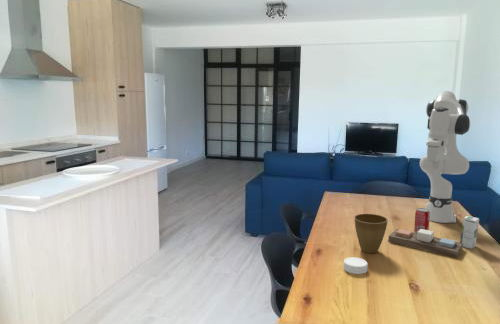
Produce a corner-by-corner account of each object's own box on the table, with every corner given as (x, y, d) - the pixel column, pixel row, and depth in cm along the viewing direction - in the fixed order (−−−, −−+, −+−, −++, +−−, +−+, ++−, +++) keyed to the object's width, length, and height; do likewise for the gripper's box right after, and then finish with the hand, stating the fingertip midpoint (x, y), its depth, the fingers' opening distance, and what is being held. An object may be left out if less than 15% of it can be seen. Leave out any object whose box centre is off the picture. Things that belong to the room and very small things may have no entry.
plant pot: (385, 246, 184) (387, 215, 181) (385, 258, 170) (387, 224, 168) (353, 242, 189) (355, 211, 186) (351, 254, 175) (353, 221, 172)
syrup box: (463, 242, 190) (466, 215, 187) (476, 246, 185) (479, 218, 183) (459, 246, 186) (462, 217, 183) (472, 249, 181) (476, 220, 179)
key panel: (396, 234, 201) (396, 229, 200) (462, 249, 182) (462, 243, 181) (388, 241, 191) (388, 235, 190) (456, 257, 172) (457, 251, 171)
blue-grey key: (441, 245, 184) (442, 237, 183) (455, 248, 180) (455, 240, 180) (438, 249, 179) (439, 241, 179) (452, 252, 176) (453, 244, 175)
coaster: (363, 277, 153) (364, 268, 153) (339, 271, 158) (340, 263, 158) (370, 267, 162) (370, 260, 161) (347, 262, 167) (347, 254, 166)
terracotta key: (399, 236, 196) (399, 228, 196) (411, 238, 193) (411, 231, 192) (395, 239, 192) (396, 232, 191) (407, 242, 188) (408, 234, 187)
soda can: (429, 235, 199) (432, 211, 197) (415, 234, 201) (417, 211, 198) (426, 231, 206) (428, 208, 204) (412, 230, 208) (414, 207, 205)
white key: (420, 236, 190) (420, 228, 189) (432, 239, 186) (433, 231, 185) (416, 239, 185) (417, 232, 185) (429, 242, 182) (430, 234, 181)
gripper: (435, 138, 194) (433, 165, 196) (425, 142, 178) (423, 171, 181) (449, 139, 190) (446, 166, 193) (440, 143, 174) (437, 172, 177)
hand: (435, 168), depth 186 cm, fingers closed
